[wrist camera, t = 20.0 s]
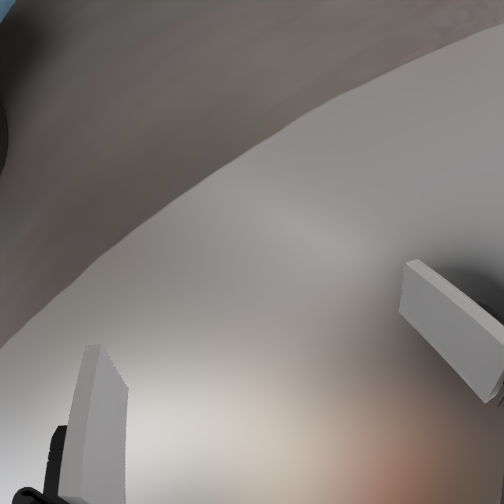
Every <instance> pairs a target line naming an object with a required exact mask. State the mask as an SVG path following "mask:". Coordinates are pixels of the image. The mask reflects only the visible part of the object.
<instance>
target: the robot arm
mask: <svg viewBox="0 0 504 504" xmlns="http://www.w3.org/2000/svg"><path fill="white" fill-rule="evenodd" d="M15 1H16V0H0V23H1V22H2V20H3V19H4V17H5V16H6V14H7V13H8V11H9V10H10V8H11V7H12V6H13V4H14V3H15ZM7 144H8V130H7V122H6V118H5V114H4V111H3V108H2V106H1V104H0V173H1V170H2V168H3V165H4V161H5V157H6V152H7ZM399 312H400V313H401V314H402V315H403V316H404V317H405V318H406V319H407V320H408V322H410V323H411V325H412V326H413V327H414V328H415V329H416V330H417V331H418V332H419V333H420V334H421V335H422V336H423V337H424V338H425V339H426V340H427V341H428V342H429V343H430V344H431V345H432V346H433V347H434V348H435V349H436V350H437V351H438V352H439V353H440V355H441V356H442V357H443V358H444V359H445V360H446V361H447V362H448V363H449V364H450V365H451V366H452V367H453V368H454V370H455V371H456V372H457V373H458V374H459V375H460V376H461V377H462V378H463V379H464V380H465V382H466V383H467V384H468V385H469V386H470V387H471V388H472V389H473V390H474V392H475V393H476V394H477V395H478V396H479V397H480V398H481V399H482V401H483V402H484V403H486V402H487V401H489V400H490V399H491V398H493V397H494V396H495V395H496V394H497V393H498V391H499V390H500V388H501V386H502V384H504V318H503V317H502V316H501V315H498V313H497V312H496V311H495V310H493V309H492V308H491V307H489V306H487V305H485V304H483V303H480V302H479V303H475V302H474V301H473V300H471V299H470V298H469V297H467V296H466V295H465V294H464V293H462V292H461V291H460V290H459V289H457V288H456V287H454V286H453V285H452V284H451V283H449V282H448V281H447V280H445V279H444V278H443V277H441V276H440V275H439V274H437V273H436V272H435V271H433V270H432V269H431V268H429V267H428V266H426V265H425V264H424V263H422V262H421V261H419V260H418V259H415V260H412V261H409V262H406V263H405V264H404V275H403V284H402V293H401V302H400V309H399ZM127 399H128V388H127V386H126V384H125V383H124V381H123V379H122V378H121V376H120V374H119V373H118V371H117V369H116V368H115V366H114V365H113V363H112V361H111V359H110V357H109V356H108V354H107V352H106V351H105V349H104V347H103V345H102V344H98V345H93V346H88V347H86V348H85V352H84V355H83V360H82V363H81V367H80V371H79V375H78V379H77V384H76V388H75V392H74V396H73V401H72V406H71V411H70V416H69V421H68V425H64V426H58V427H57V429H56V431H55V433H54V434H53V436H52V439H51V444H50V452H49V456H48V460H49V461H48V462H47V468H46V475H45V482H44V490H43V494H42V493H40V492H39V491H37V490H36V489H34V488H32V487H24V488H22V489H20V490H18V491H17V493H16V494H15V495H14V498H13V500H12V504H126V498H125V441H126V440H125V439H126V417H127ZM503 400H504V392H503V394H502V396H501V397H500V399H499V401H498V404H497V406H500V405H501V403H502V401H503ZM503 406H504V404H503ZM500 504H504V478H503V487H502V496H501V503H500Z"/></svg>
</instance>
